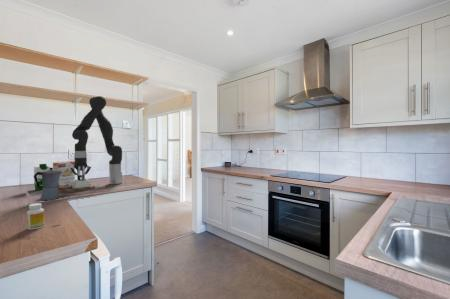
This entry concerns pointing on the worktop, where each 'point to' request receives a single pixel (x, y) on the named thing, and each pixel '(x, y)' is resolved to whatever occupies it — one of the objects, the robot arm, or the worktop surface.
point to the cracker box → (65, 173)
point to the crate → (81, 183)
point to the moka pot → (49, 184)
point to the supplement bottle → (35, 216)
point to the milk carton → (39, 177)
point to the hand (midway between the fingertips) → (81, 180)
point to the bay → (70, 189)
